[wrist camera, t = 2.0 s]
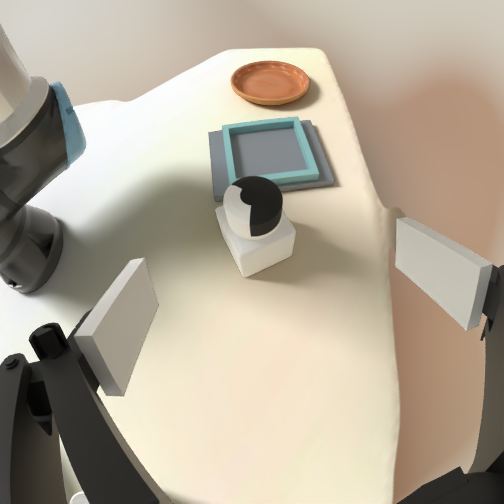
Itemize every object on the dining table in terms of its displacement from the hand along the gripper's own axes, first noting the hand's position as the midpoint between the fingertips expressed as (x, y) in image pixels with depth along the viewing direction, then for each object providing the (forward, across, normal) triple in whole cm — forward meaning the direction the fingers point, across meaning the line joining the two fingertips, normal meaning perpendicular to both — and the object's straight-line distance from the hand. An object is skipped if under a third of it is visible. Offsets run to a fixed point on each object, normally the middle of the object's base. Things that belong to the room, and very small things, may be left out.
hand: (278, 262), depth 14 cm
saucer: (+50, +8, +17) cm, 53 cm away
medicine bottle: (+25, 0, -8) cm, 26 cm away
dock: (+35, +4, +3) cm, 35 cm away
